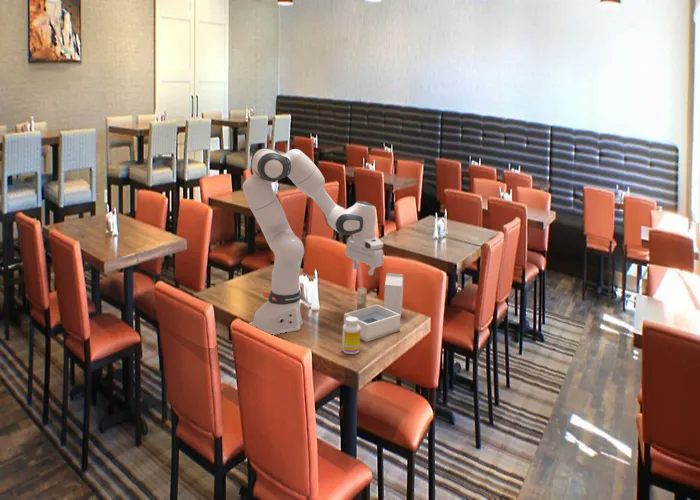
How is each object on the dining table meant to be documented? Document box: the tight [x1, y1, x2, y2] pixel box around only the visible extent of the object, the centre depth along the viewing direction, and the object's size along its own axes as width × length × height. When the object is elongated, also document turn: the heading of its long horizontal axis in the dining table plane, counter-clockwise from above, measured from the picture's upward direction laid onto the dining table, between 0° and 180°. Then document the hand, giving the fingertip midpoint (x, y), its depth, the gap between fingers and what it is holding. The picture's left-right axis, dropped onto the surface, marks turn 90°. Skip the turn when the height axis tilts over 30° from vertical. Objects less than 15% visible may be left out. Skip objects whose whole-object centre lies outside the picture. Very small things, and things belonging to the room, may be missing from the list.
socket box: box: [343, 304, 402, 342], centre depth 236 cm, size 18×14×7 cm
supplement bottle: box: [341, 317, 361, 355], centre depth 216 cm, size 7×7×13 cm
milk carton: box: [383, 272, 404, 316], centre depth 250 cm, size 7×7×19 cm
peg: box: [356, 287, 368, 310], centre depth 250 cm, size 4×4×12 cm
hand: (363, 271), depth 246 cm, fingers open, 8 cm apart
